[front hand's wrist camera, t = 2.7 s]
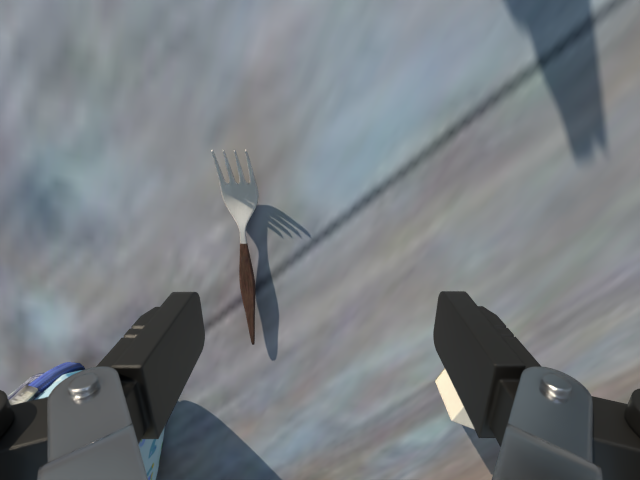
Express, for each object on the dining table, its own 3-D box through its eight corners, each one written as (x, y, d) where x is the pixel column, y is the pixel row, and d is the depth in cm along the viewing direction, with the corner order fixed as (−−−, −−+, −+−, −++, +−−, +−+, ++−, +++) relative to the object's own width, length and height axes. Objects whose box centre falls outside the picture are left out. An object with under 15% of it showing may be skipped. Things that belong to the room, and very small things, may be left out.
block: (434, 381, 30) (450, 421, 26) (467, 338, 29) (490, 374, 25) (480, 399, 31) (503, 441, 27) (515, 359, 29) (545, 397, 26)
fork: (238, 340, 29) (233, 356, 27) (217, 146, 23) (207, 149, 21) (269, 340, 29) (265, 356, 27) (255, 146, 23) (249, 149, 21)
